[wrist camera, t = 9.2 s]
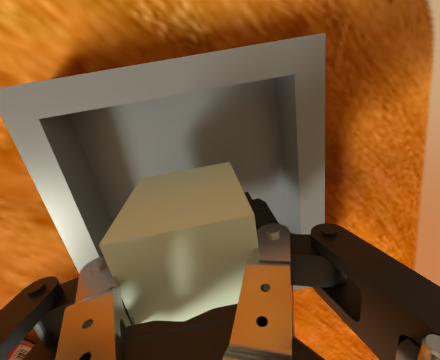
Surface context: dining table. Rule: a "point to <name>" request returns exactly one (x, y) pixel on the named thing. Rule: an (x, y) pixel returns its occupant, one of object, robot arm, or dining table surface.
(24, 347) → the soda can
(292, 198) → the bin
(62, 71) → the dining table surface
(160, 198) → the sage block
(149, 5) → the dining table surface
